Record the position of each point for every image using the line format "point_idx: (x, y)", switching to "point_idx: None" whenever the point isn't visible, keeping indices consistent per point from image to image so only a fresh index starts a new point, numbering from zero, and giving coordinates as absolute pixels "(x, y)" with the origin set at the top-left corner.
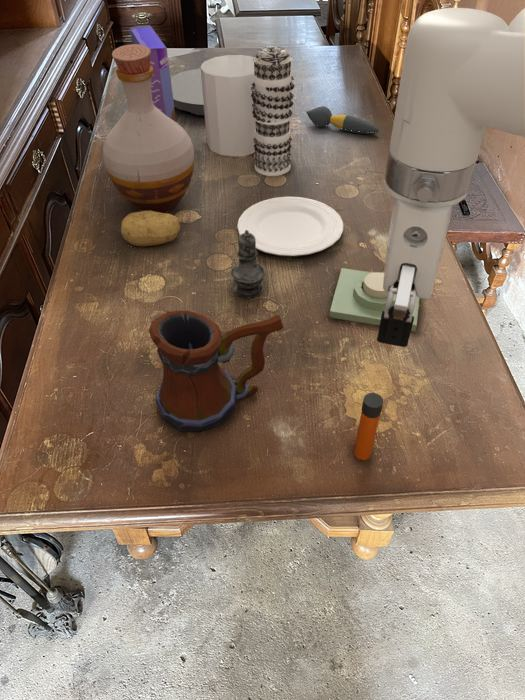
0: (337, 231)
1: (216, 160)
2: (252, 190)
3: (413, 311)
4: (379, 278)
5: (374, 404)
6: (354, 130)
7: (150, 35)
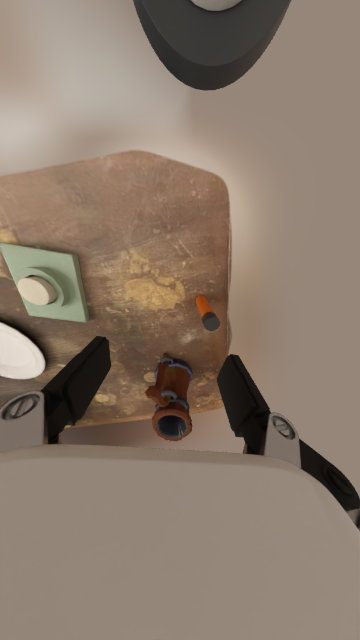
0: None
1: None
2: None
3: (298, 451)
4: (29, 292)
5: (216, 323)
6: None
7: None
